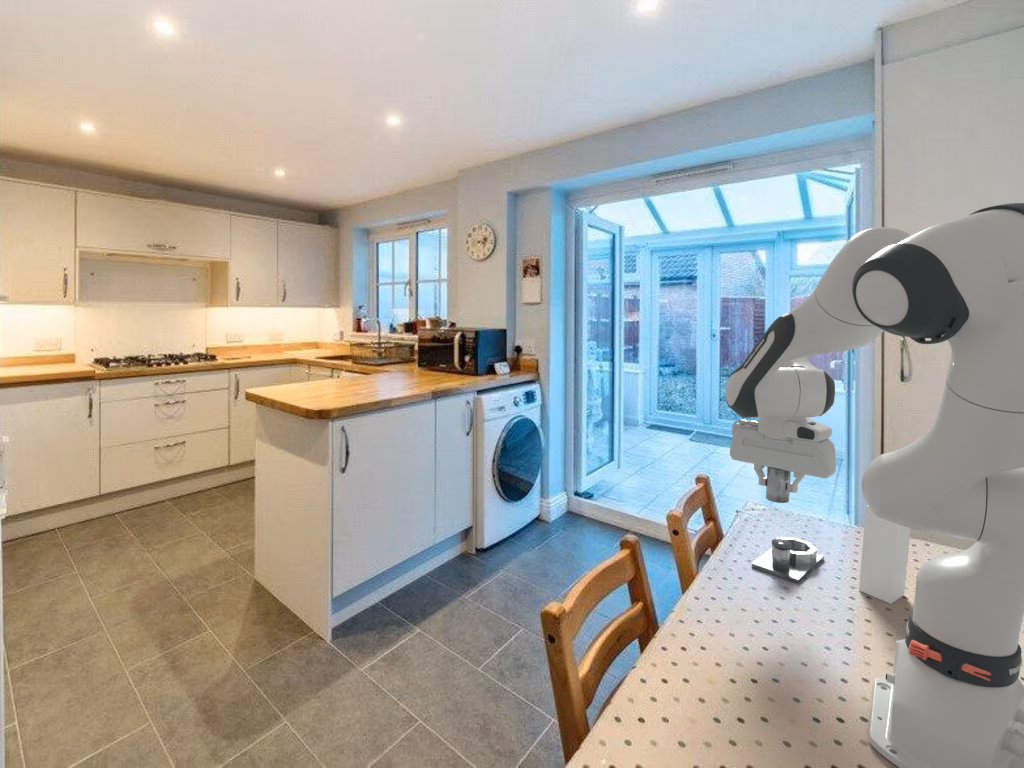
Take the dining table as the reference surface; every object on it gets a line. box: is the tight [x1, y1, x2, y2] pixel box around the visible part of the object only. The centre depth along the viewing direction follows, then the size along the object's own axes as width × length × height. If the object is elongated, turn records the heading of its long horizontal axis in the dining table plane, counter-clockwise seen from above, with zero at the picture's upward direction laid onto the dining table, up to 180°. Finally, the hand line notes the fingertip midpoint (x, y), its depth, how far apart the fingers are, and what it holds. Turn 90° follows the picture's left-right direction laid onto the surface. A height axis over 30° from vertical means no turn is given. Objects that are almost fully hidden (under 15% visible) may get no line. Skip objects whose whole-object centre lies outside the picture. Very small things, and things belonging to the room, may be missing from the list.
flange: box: [751, 536, 825, 585], centre depth 117 cm, size 16×10×7 cm, turn 130°
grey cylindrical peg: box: [765, 467, 792, 504], centre depth 106 cm, size 4×4×7 cm
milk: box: [858, 505, 911, 605], centre depth 103 cm, size 6×6×22 cm
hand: (777, 488), depth 106 cm, fingers closed on grey cylindrical peg, 4 cm apart
